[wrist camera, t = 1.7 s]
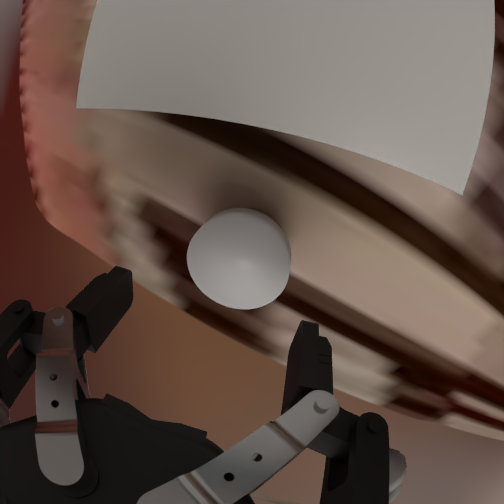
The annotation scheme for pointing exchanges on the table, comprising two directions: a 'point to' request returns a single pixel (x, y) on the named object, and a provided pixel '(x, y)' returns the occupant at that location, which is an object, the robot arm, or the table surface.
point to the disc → (240, 258)
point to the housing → (307, 71)
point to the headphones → (396, 472)
